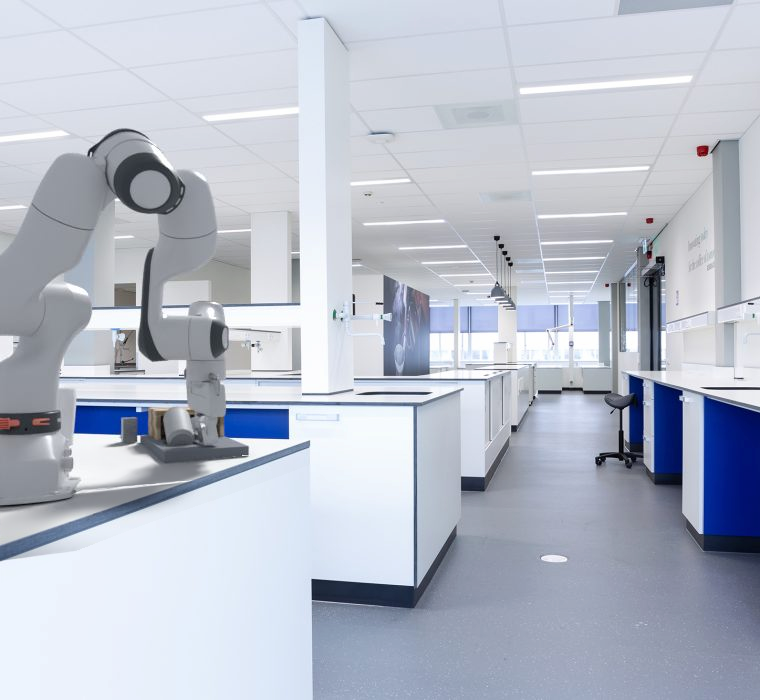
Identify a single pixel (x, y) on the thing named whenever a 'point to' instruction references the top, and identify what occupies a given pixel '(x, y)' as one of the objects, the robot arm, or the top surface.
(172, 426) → the beverage can
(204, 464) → the top surface
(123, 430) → the mallet
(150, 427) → the cubby
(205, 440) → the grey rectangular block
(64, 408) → the drinking glass
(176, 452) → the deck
